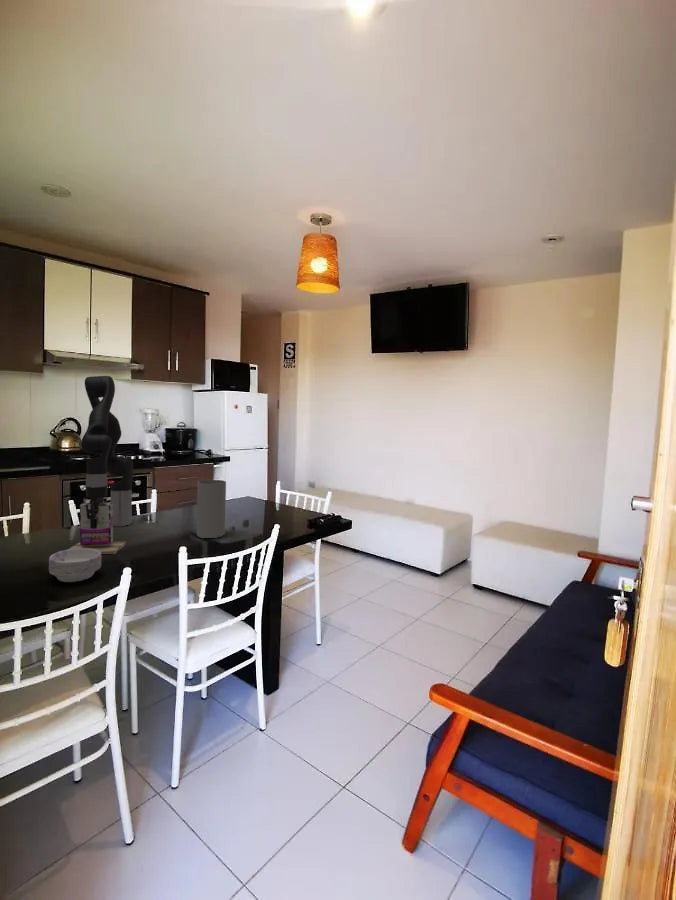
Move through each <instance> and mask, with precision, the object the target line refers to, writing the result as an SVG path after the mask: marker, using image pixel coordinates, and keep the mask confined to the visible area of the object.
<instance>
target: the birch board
mask: <svg viewBox="0 0 676 900" xmlns="http://www.w3.org/2000/svg"><path fill="white" fill-rule="evenodd" d="M127 544H128V543H127V541H120V540H119V541H115V540H113V542H112V543H111V544H105V545H80V541H79V542H78V543H76V544H74V545H73V546H71V547H69V548H68V549H67V550H69V549H78V548H89V549H95V550H98V551H100V552H101V554H114V555H115V554H117V551H118V552H119V551H120V550H121V549H123V548H124V547H125V546H126V545H127ZM122 547H123V548H122Z"/></svg>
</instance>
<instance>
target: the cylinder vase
mask: <svg viewBox="0 0 676 900" xmlns="http://www.w3.org/2000/svg"><path fill="white" fill-rule="evenodd" d="M226 490H227V481H226V480H221V479H202V480H198V481H197V490H196V491H197V493H196V494H197V495H196V496H197V497H196V536H197V537H198V538H201V539H204V538H215V539H219V538H218V537H220V538H222V537H224V536H225V534H226V502H227V501H226V499H227V498H226V497H227V496H226V493H227V491H226ZM223 535H224V536H223ZM221 536H222V537H221Z"/></svg>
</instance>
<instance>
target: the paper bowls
mask: <svg viewBox="0 0 676 900" xmlns="http://www.w3.org/2000/svg"><path fill="white" fill-rule="evenodd" d="M68 549H69V548H68ZM68 549H65V550H59V551H57V552H55V553H53V554H51V555H50V556H49V557H48V572H49V574H50V575H52V576H55V577H56V578H57V580H58V581H60V582H64V583H76V582H77V581H78V582H82V581H85V579H86V580H88V579H89V578H92V576H93V575H94V574H95V572H96V571H98V570H99V569H101V567H102V555H101V552H100V551H98V550H95V549H89V548H78V549H69V550H68ZM78 582H77V583H78Z"/></svg>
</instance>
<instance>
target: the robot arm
mask: <svg viewBox="0 0 676 900" xmlns="http://www.w3.org/2000/svg"><path fill="white" fill-rule="evenodd" d="M115 386H116V385H115V381H114V378H113V377H112V376H111V375H110V376H109V375H95V376H87V377H85V379H84V388H85V389H84V390H85V393H86V396H87V398H88V400H89V403H90V407H91V409H92V410H91V411H90V413H89V417H88V425H87V429H86V431H85V433H84V434H83V436H82V439H81V440H80V447H81V449H82V450H83V451H84V452H85V453H101V454H100V456H97V457H94V458H93V457H92V458H89V459H87V461H86V477H85V496H86V498H89V503H90V504H86V512H87V519H90V528H91V529H96V528H97V514H98V513H99V506H100V504H101V503H104V502H108V499H107V496H108V475H110V476H112V477H113V476H115V477H121V480H120V481H117V482H114V483H111V485H110V502H113V527H126V525H128V526H130V524H131V523H132V524H133V522H132V515H133V514H132V512H133V511H132V510H133V509H132V508H133V503H132V502H133V498H132V497H133V495H132V492H133V491H132V490H133V488H132V487H133V479H134V478H133V476H134V475H133V474H134V462H133V459H132V458H131V457H129V456H116V451H115V449H116V447H117V445H118V443H119V441H120V440H121V437H122V429H121V425H120V421H119V419H118V418H117V417H116V416H115V414H114V413H112V412H111V409H112V404H113V401H114V397H115V394H116V387H115ZM100 399H101V400H100ZM107 474H108V475H107ZM105 497H106V498H105ZM97 505H98V506H97ZM94 510H97V511H94ZM89 513H90V515H89ZM132 524H131V525H132Z"/></svg>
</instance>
